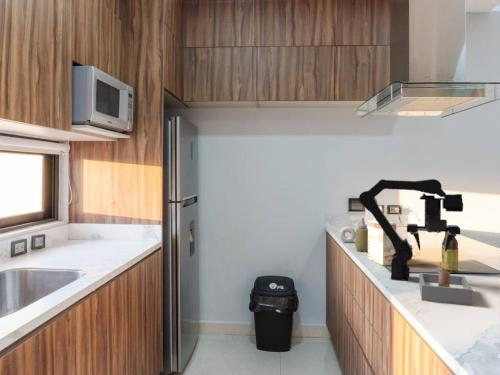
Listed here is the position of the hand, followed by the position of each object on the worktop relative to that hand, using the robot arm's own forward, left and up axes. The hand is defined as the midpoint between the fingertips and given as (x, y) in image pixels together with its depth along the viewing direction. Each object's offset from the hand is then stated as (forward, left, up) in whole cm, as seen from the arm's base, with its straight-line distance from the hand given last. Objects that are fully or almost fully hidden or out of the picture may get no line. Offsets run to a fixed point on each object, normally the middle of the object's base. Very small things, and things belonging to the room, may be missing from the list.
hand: (432, 250), depth 151 cm
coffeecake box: (-20, +28, -12) cm, 36 cm away
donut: (-42, +74, -12) cm, 86 cm away
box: (+2, -17, -12) cm, 21 cm away
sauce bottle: (+8, +17, -12) cm, 22 cm away
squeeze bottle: (-31, +51, -12) cm, 61 cm away
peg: (+2, -17, -12) cm, 21 cm away
